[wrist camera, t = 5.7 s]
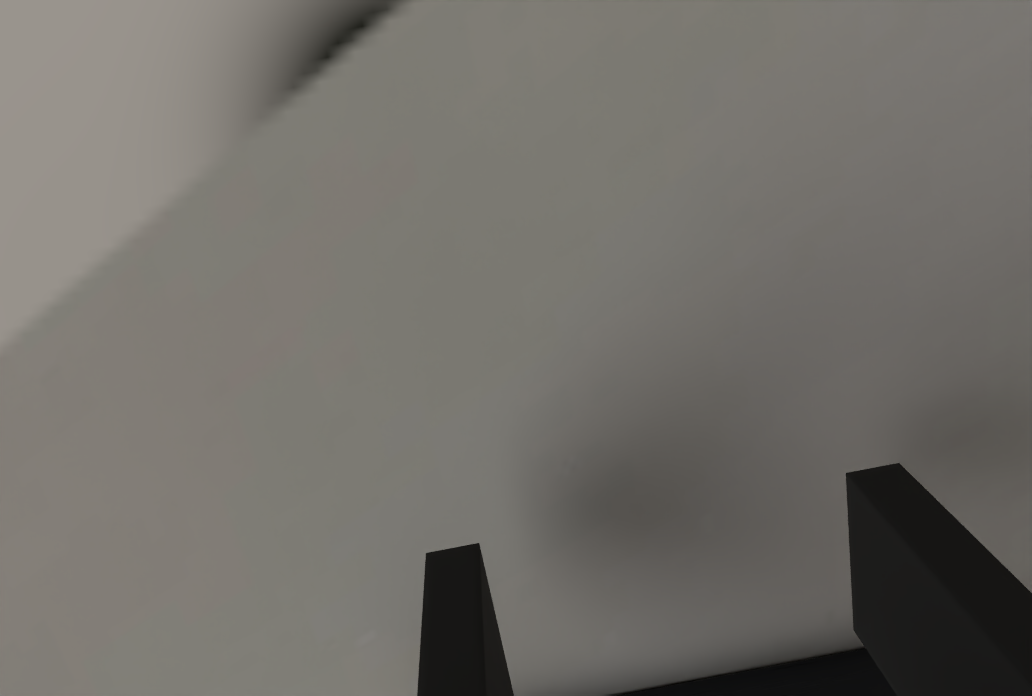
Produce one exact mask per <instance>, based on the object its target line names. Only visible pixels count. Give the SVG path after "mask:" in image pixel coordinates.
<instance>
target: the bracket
mask: <svg viewBox="0 0 1032 696" xmlns="http://www.w3.org/2000/svg"><path fill="white" fill-rule="evenodd" d="M618 696H897V695H896V693H895V692H894V690H893V689H892V687H891V686H890V684H889V683H888V681H887V680H886V678H885V677H884V675H883V674H882V672H881V671H880V669H879V668H878V666H877V665H876V663H875V662H874V660H873V658H872V657H871V655H870V654H869V652H868V651H867V649H861V650H855V651H850V652H845V653H839V654H834V655H829V656H824V657H818V658H813V659H808V660H803V661H797V662H792V663H787V664H781V665H776V666H771V667H766V668H760V669H755V670H750V671H745V672H739V673H734V674H729V675H724V676H718V677H713V678H708V679H702V680H697V681H692V682H687V683H681V684H676V685H671V686H666V687H660V688H655V689H650V690H644V691H639V692H634V693H629V694H623V695H618Z"/></svg>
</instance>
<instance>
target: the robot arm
mask: <svg viewBox="0 0 1032 696" xmlns="http://www.w3.org/2000/svg"><path fill="white" fill-rule="evenodd" d="M846 485H847V506H848V526H849V546H850V566H851V587H852V607H853V627H854V631H855V633H856V634H857V636H858V637H859V639H860V640H861V642H862V643H863V645H864V646H865V648H866V649H867V651H868V652H869V654H870V655H871V657H872V658H873V660H874V662H875V663H876V665H877V666H878V668H879V669H880V671H881V672H882V674H883V675H884V677H885V678H886V680H887V681H888V683H889V684H890V686H891V687H892V689H893V690H894V692H895V693H896V695H897V696H1032V593H1031V592H1030V591H1029V590H1028V589H1027V588H1026V587H1025V586H1024V585H1023V584H1022V583H1021V582H1020V581H1019V580H1018V579H1017V578H1016V577H1015V576H1014V575H1013V574H1012V573H1011V572H1010V571H1009V570H1008V569H1007V568H1005V567H1004V566H1003V565H1002V564H1001V563H1000V562H999V561H998V560H997V559H996V558H995V557H994V556H993V555H992V554H991V553H990V552H989V551H988V550H987V549H986V548H985V547H984V546H983V545H982V544H981V543H980V542H979V541H978V540H977V539H976V538H975V537H974V536H973V535H972V534H971V533H970V532H969V531H968V530H967V529H966V528H965V527H964V526H963V525H962V524H961V523H960V522H959V521H958V520H957V519H956V518H955V517H954V516H953V515H952V514H950V513H949V512H948V511H947V510H946V509H945V508H944V507H943V506H942V505H941V504H940V503H939V502H938V501H937V500H936V499H935V498H934V497H933V496H932V495H931V494H930V493H929V492H928V491H927V490H926V489H925V488H924V487H923V486H922V485H921V484H920V483H919V482H918V481H917V480H916V479H915V478H914V477H913V476H912V475H911V474H910V473H909V472H908V471H907V470H906V469H905V468H904V467H903V466H902V465H901V464H900V463H897V464H891V465H886V466H881V467H876V468H870V469H865V470H860V471H854V472H849V473H846ZM417 696H514V694H513V690H512V685H511V681H510V677H509V672H508V668H507V663H506V659H505V655H504V650H503V646H502V641H501V637H500V633H499V628H498V624H497V620H496V615H495V611H494V606H493V602H492V598H491V593H490V589H489V584H488V580H487V576H486V571H485V567H484V563H483V558H482V554H481V549H480V545H479V543H477V544H472V545H466V546H461V547H456V548H451V549H445V550H440V551H435V552H430V553H426V562H425V579H424V595H423V612H422V628H421V645H420V662H419V678H418V695H417Z"/></svg>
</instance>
